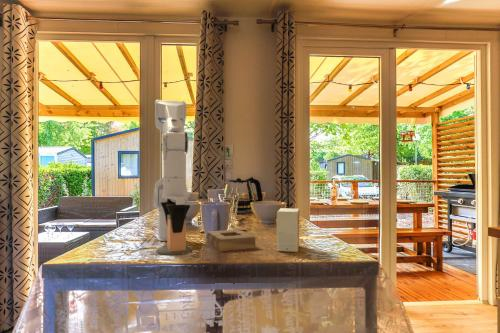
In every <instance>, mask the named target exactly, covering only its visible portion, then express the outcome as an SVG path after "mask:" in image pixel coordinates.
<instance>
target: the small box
mask: <svg viewBox="0 0 500 333" xmlns="http://www.w3.org/2000/svg"><path fill="white" fill-rule="evenodd" d="M299 247H300V208H291V207H290V208H285V207H280V208H279V209H278V211H276V251H277V252H293V253H297V252H299Z"/></svg>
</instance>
